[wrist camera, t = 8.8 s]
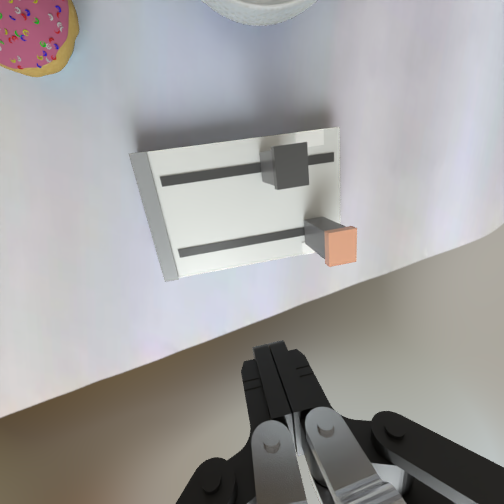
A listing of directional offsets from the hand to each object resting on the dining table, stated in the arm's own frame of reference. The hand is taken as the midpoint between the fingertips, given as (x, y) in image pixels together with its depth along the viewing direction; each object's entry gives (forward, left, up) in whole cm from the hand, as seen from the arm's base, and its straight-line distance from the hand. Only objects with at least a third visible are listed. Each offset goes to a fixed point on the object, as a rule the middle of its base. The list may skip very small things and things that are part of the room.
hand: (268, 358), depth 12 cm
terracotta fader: (0, +10, -18) cm, 21 cm away
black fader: (-8, +6, -18) cm, 21 cm away
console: (-4, +3, -22) cm, 22 cm away
